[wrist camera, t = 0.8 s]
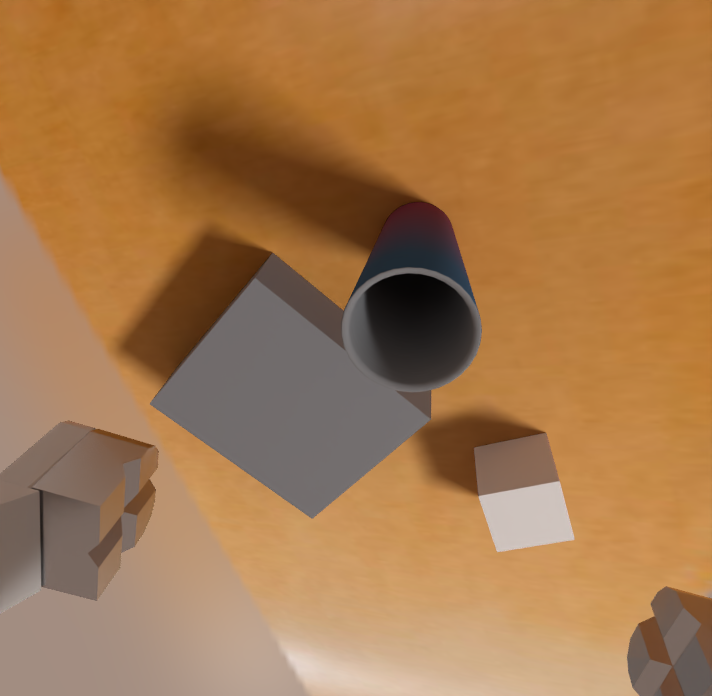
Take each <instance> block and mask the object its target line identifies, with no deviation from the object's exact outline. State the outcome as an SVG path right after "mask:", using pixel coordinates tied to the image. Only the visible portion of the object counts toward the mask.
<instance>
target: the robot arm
mask: <svg viewBox="0 0 712 696" xmlns="http://www.w3.org/2000/svg"><path fill="white" fill-rule="evenodd" d="M158 452H159V451H158V449H157V448H156V447H155V446H154V445H151V444H147V443H144V442H140V441H137V440H134V439H131V438H127V437H124V436H120V435H117V434H113V433H111V432H107V431H104V430H100V429H95V428H92V427H89V426H85V425H82V424H79V423H75V422H72V421H65V422H60V423H59V424H58V425H56V426H55V427H54V428H53V429H52V430H51V431H49V432H48V433H47V434H46V435H45V436H44V437H42V438H41V439H40V440H39V441H38V442H37V443H35V444H34V445H33V446H32V447H31V448H30V449H28V450H27V451H26V452H25V453H24V454H23V455H21V456H20V457H19V458H18V459H17V460H16V461H14V462H13V463H12V464H11V465H10V466H9V467H8V468H6V469H5V470H4V471H3V472H2V473H1V474H0V613H2V612H4V611H5V610H7V609H9V608H11V607H12V606H14V605H16V604H18V603H20V602H21V601H23V600H25V599H26V598H28V597H30V596H32V595H34V594H35V593H37V592H39V591H41V587H45V588H49V589H53V590H56V591H60V592H64V593H68V594H72V595H76V596H80V597H84V598H88V599H91V600H95V601H97V600H98V599H99V597H100V596H101V595H102V593H103V592H104V590H105V589H106V587H107V586H108V584H109V583H110V581H111V580H112V579H113V577H114V576H115V574H116V573H117V572H118V570H119V569H120V563H121V553H122V552H124V551H126V550H128V549H130V548H133V547H134V546H135V545H136V544H137V542H138V541H139V539H140V538H141V536H142V535H143V533H144V531H145V529H146V526H147V524H148V522H149V520H150V517H151V514H152V510H153V506H154V502H155V493H156V489H155V487H154V486H153V484H152V482H151V481H150V479H149V478H150V477H151V476H152V474H153V473H154V472H155V471H156V469H157V468H158ZM651 607H652V610H653V613H654V617H652V618H650V619H647V620H645V621H643V622H641V623H639V624H638V626H637V627H636V629H635V631H634V633H633V635H632V637H631V639H630V643H629V649H628V655H627V660H628V672H629V676H630V679H631V683H632V687H633V688H634V690H635V691H636V692H637V693H638V694H639V696H712V599H711V598H708V597H704V596H700V595H696V594H693V593H689V592H685V591H682V590H678V589H674V588H670V587H667V586H666V587H664V588H663V589H662V590H660V591H659V592H658V593H657V594H656V596H655V597H654V599H653V601H652V602H651Z"/></svg>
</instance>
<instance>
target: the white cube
mask: <svg viewBox="0 0 712 696" xmlns="http://www.w3.org/2000/svg"><path fill="white" fill-rule="evenodd" d="M474 455H475V465H476V476H477V486H478V496H479V499H480V502H481V505H482V508H483V511H484V514H485V517H486V520H487V523H488V526H489V529H490V532H491V535H492V538H493V541H494V544H495V547H496V550H497V552H501V551H507V550H513V549H519V548H526V547H532V546H538V545H544V544H551V543H557V542H563V541H569V540H575V539H574V535H573V531H572V528H571V524H570V520H569V516H568V512H567V508H566V504H565V500H564V496H563V493H562V489H561V485H560V481H559V477H558V474H557V470H556V466H555V463H554V459H553V456H552V452H551V448H550V445H549V441H548V437H547V434H546V433H542V434H537V435H532V436H527V437H523V438H518V439H513V440H508V441H503V442H498V443H494V444H489V445H484V446H479V447H474Z"/></svg>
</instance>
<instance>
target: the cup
mask: <svg viewBox="0 0 712 696" xmlns="http://www.w3.org/2000/svg"><path fill="white" fill-rule="evenodd" d="M481 333H482V329H481V319H480V315H479V312H478V309H477V306H476V302H475V299H474V296H473V293H472V289H471V286H470V283H469V280H468V276H467V273H466V270H465V267H464V263H463V260H462V257H461V254H460V250H459V247H458V244H457V241H456V237H455V234H454V231H453V228H452V225H451V222H450V220H449V219H448V217H447V216H446V214H445V213H444V212H443V211H442V210H440V209H439V208H437V207H436V206H433V205H431V204H428V203H424V202H414V203H408V204H406V205H403V206H401V207H399V208H398V209H396V210H395V211H394V212H393V213H392V214H391V215H390V216H389V217H388V219H387V220H386V223H385V225H384V227H383V229H382V231H381V233H380V235H379V237H378V240H377V242H376V244H375V246H374V248H373V250H372V252H371V254H370V256H369V259H368V261H367V263H366V265H365V267H364V269H363V271H362V273H361V275H360V278H359V280H358V282H357V284H356V286H355V288H354V290H353V292H352V295H351V297H350V299H349V301H348V303H347V305H346V307H345V309H344V313H343V317H342V322H341V335H342V340H343V344H344V348H345V350H346V352H347V354H348V357H349V358H350V360H351V361H352V363H353V364H354V365H355V367H356V368H357V369H358V370H359V371H360V372H361V373H362V374H363V375H364V376H366V377H367V378H369V379H370V380H372V381H373V382H375V383H376V384H379V385H381V386H383V387H386V388H388V389H393V390H397V391H402V392H421V391H428V390H432V389H436V388H439V387H441V386H443V385H445V384H448V383H450V382H451V381H453V380H454V379H456V378H457V377H458V376H460V375H461V374H462V373H463V372H464V371H465V370H466V369H467V368H468V367H469V366H470V364H471V362H472V361H473V359H474V357H475V356H476V354H477V351H478V348H479V345H480V341H481Z"/></svg>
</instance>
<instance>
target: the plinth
mask: <svg viewBox="0 0 712 696" xmlns="http://www.w3.org/2000/svg"><path fill="white" fill-rule="evenodd" d="M343 313H344V311H343V310H342V309H341V308H339V307H338V306H337V305H336V304H335V303H333V302H332V301H331V300H330V299H328V298H327V297H326V296H325V295H324V294H322V293H321V292H320V291H319V290H317V289H316V288H315V287H314V286H313V285H311V284H310V283H309V282H308V281H307V280H305V279H304V278H303V277H302V276H300V275H299V274H298V273H297V272H296V271H294V270H293V269H292V268H291V267H290V266H288V265H287V264H286V263H285V262H283V261H282V260H281V259H280V258H279V257H277V256H276V255H275V254H274V253H272V254H271V255H270V257H269V258H268V259H267V260H266V261H265V263H264V264H263V265H262V266H261V267H260V269H259V270H258V271H257V272H256V273H255V275H254V276H253V277H252V278H251V279H250V281H249V282H248V283H247V284H246V285H245V287H244V288H243V289H242V290H241V291H240V293H239V294H238V295H237V296H236V297H235V299H234V300H233V301H232V302H231V303H230V305H229V306H228V307H227V308H226V309H225V311H224V312H223V313H222V314H221V315H220V317H219V318H218V319H217V320H216V321H215V323H214V324H213V325H212V326H211V327H210V329H209V330H208V331H207V332H206V333H205V335H204V336H203V337H202V338H201V339H200V341H199V342H198V343H197V344H196V345H195V347H194V348H193V349H192V350H191V351H190V353H189V354H188V355H187V356H186V357H185V359H184V360H183V361H182V362H181V363H180V365H179V366H178V367H177V368H176V369H175V371H174V372H173V373H172V375H171V376H170V377H169V379H168V380H167V381H166V383H165V384H164V385H163V387H162V388H161V389H160V391H159V392H158V393H157V395H156V396H155V397H154V399H153V400H152V401H151V403H150V405H152V406H153V407H155V408H156V409H157V410H159V411H160V412H162V413H163V414H165V415H166V416H167V417H169V418H170V419H172V420H173V421H174V422H176V423H177V424H179V425H180V426H182V427H183V428H184V429H186V430H187V431H189V432H190V433H191V434H193V435H194V436H196V437H197V438H199V439H200V440H201V441H203V442H204V443H206V444H207V445H208V446H210V447H211V448H213V449H214V450H216V451H217V452H218V453H220V454H221V455H223V456H224V457H225V458H227V459H228V460H230V461H231V462H233V463H234V464H235V465H237V466H238V467H240V468H241V469H242V470H244V471H245V472H247V473H248V474H249V475H251V476H252V477H254V478H255V479H257V480H258V481H259V482H261V483H262V484H264V485H265V486H266V487H268V488H269V489H271V490H272V491H274V492H275V493H276V494H278V495H279V496H281V497H282V498H283V499H285V500H286V501H288V502H289V503H291V504H292V505H293V506H295V507H296V508H298V509H299V510H300V511H302V512H303V513H305V514H306V515H308V516H309V517H310V518H314V517H315V516H316V515H317V514H318V513H320V512H321V511H322V510H323V509H324V508H326V507H327V506H328V505H329V504H330V503H332V502H333V501H334V500H335V499H336V498H338V497H339V496H340V495H341V494H342V493H344V492H345V491H346V490H347V489H348V488H350V487H351V486H352V485H353V484H354V483H356V482H357V481H358V480H359V479H360V478H361V477H363V476H364V475H365V474H366V473H367V472H369V471H370V470H371V469H372V468H373V467H375V466H376V465H377V464H378V463H379V462H381V461H382V460H383V459H384V458H385V457H387V456H388V455H389V454H390V453H391V452H393V451H394V450H395V449H396V448H397V447H399V446H400V445H401V444H402V443H403V442H405V441H406V440H407V439H408V438H409V437H411V436H412V435H413V434H414V433H415V432H416V431H418V430H419V429H420V428H421V427H422V426H424V425H425V424H426V423H427V422H428V421H430V420H431V390H428V391H421V392H402V391H397V390H393V389H388V388H386V387H383V386H381V385H379V384H376V383H375V382H373V381H372V380H370V379H369V378H367V377H366V376H364V375H363V374H362V373H361V372H360V371H359V370H358V369H357V368H356V367H355V365H354V364H353V363H352V361H351V360H350V358H349V357H348V354H347V352H346V350H345V348H344V344H343V340H342V335H341V322H342V317H343Z"/></svg>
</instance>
